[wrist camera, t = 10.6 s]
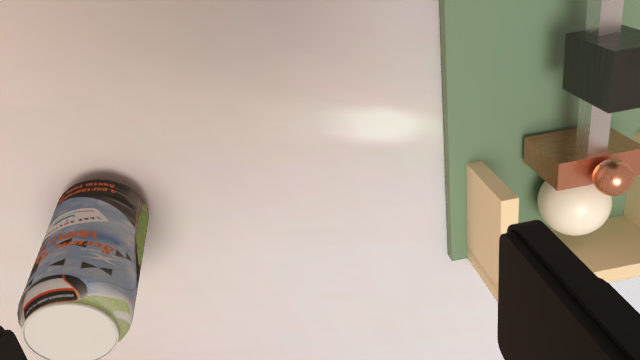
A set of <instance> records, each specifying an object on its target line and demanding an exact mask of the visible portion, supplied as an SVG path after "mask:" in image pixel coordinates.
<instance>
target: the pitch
mask: <svg viewBox="0 0 640 360" xmlns="http://www.w3.org/2000/svg"><path fill="white" fill-rule="evenodd" d="M587 4H588V0H439V7H440V37H441V66H442V96H443V125H444V155H445V184H446V214H447V243H448V255H449V257H450V258H451V260H452V261H455V260H460V259H465V258H468V259H469V261H470V262H471V264H472V265H473V267H474V268H475V270H476V271H477V272H478V274H479V275H480V277H481V278H482V280H483V281H484V283H485V284H486V286H487V287H488V289H489V290H490V292H491V293H492V295H493V296H494V298H495V299H496V300H497V302H498V282H499V238H500V235H501V234H504V233H507V229H508V226H510V225H512V224H517V223H522V222H527V221H532V220H541V221H542V222H543V223H544V224H545V225H546V226H547V227H548V228H549V229H550V230H551V231H552V232H553V233H554V234H555V235H556V236H557V237H558V238H559V239H560V240H561V241H562V242H563V243H564V244H565V245H566V246H567V247H568V248H569V249H570V250H571V251H572V252H573V253H574V254H575V255H576V256H577V257H578V258H579V259H580V260H581V261H582V262H583V263H584V264H585V265H586V266H587V267H588V268H589V269H590V270H591V271H592V272H593V273H594V274H595V275H596V276H597V277H598V278H602V279H603V280H605V281H606V282H607V283H609V282H614V281H619V280H624V279H629V278H634V277H639V276H640V175H639V176H634V181H633V184H632V186H631V188H630V189H629V190H628V191H627V192H625V193H623V194H621V195H618V196H612V208H611V212H610V215H609V217H608V219H607V220H606V221H605V223H604V224H603V225H602V226H601V227H599V228H598V229H597V230H595V231H593V232H591V233H588V234H585V235H579V236H573V235H566V234H562V233H560V232H557V231H556V230H554V229H552V228H551V227H550V226H549V225H548V224H547V223H546V222H545V221H544V220H543V218H542V217H541V215H540V212H539V209H538V203H537V200H538V193H539V190H540V188H541V186H542V184H543V183H544V181H545V180H544V179H543V178H541V177H540V176H539V175H538V174H537V173H536V172H535V171H533V170H532V169H531V168H530V167H529V166H528V165H526V164H525V163H524V137H528V136H534V135H539V134H545V133H550V132H556V131H561V130H567V129H572V128H577V126H578V114H579V101H580V98H578V97H576V96H575V95H573V94H571V93H569V92H567V91H565V90H564V89H562V83H563V68H564V53H565V38H566V33H571V32H577V31H583V30H585V28H586V16H587ZM621 25H625V26H628V27H632V28H635V29H639V30H640V0H624V6H623V15H622V24H621ZM610 127H611V128H613V129H614V130H616V131H618V132H620V133H621V134H623V135H625V136H627V137H628V138H630V139H632V140H634V141H635V142H637V143H639V144H640V108H636V109H631V110H625V111H620V112H614V113H612V115H611V124H610Z"/></svg>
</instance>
